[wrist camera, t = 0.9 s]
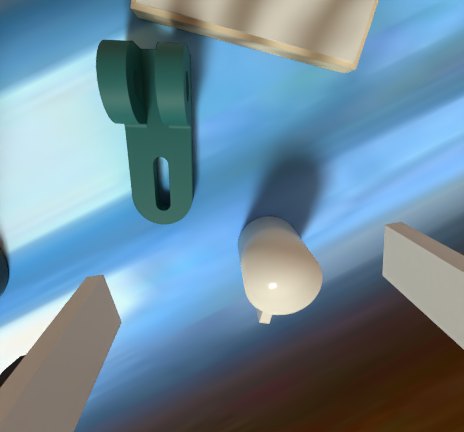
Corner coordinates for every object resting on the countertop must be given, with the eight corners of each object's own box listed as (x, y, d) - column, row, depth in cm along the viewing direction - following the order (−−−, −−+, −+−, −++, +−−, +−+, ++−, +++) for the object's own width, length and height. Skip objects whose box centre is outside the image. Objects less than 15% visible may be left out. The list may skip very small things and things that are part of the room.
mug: (227, 281, 37) (231, 329, 29) (245, 210, 34) (255, 241, 25) (282, 290, 38) (301, 338, 30) (304, 222, 35) (333, 255, 26)
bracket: (124, 53, 27) (90, 28, 20) (190, 56, 28) (181, 33, 20) (140, 217, 33) (119, 245, 26) (194, 217, 34) (188, 245, 26)
